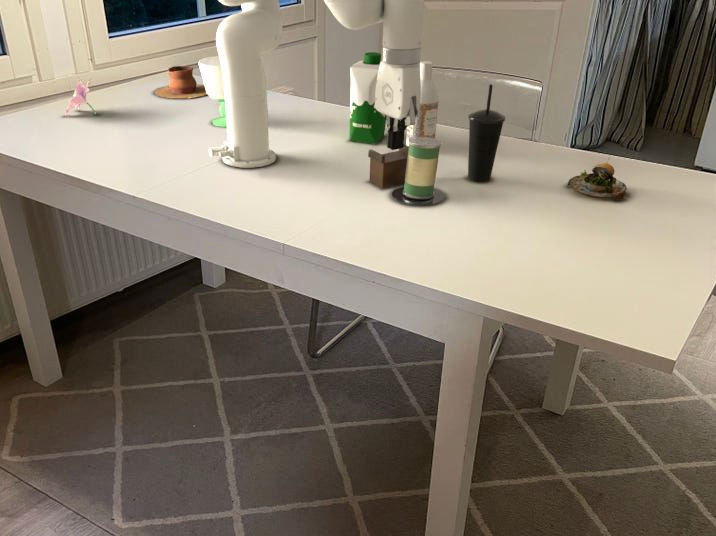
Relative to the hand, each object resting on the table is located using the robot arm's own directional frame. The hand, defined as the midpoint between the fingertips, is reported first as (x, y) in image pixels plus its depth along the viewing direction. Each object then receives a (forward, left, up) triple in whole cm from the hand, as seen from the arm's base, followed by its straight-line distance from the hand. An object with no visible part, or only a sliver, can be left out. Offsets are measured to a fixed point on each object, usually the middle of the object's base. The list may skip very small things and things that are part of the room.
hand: (395, 148), depth 151 cm
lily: (-43, +91, -8) cm, 101 cm away
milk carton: (+13, +30, -8) cm, 33 cm away
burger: (+34, -26, -8) cm, 44 cm away
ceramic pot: (-9, +100, -8) cm, 100 cm away
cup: (-11, +62, -8) cm, 63 cm away
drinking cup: (+18, -7, -8) cm, 21 cm away
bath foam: (+20, +17, -8) cm, 27 cm away
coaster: (0, -9, -8) cm, 12 cm away
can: (0, -9, -2) cm, 9 cm away
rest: (0, +1, -8) cm, 8 cm away
